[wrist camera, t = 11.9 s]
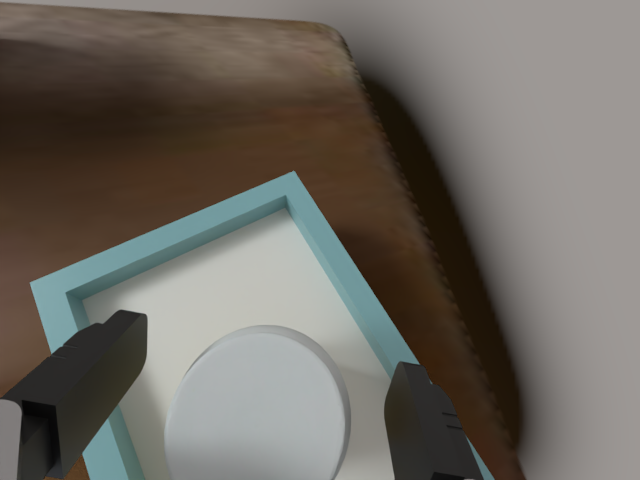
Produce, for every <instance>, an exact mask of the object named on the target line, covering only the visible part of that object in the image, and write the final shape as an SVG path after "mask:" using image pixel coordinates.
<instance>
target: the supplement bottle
mask: <svg viewBox="0 0 640 480" xmlns="http://www.w3.org/2000/svg"><path fill="white" fill-rule="evenodd" d="M350 433H351V408H350V401H349V395H348V391H347V388H346V385H345V382H344V379H343V377H342V375H341V373H340V371H339V369H338V367H337V365H336V364H335V362H334V361H333V359H332V358H331V357H330V355H329V354H328V353H327V352H326V351H325V350H324V349H323V348H322V347H321V346H320V345H319V344H318V343H317V342H315V341H314V340H313V339H311V338H310V337H308V336H307V335H305V334H303V333H301V332H298V331H296V330H294V329H291V328H287V327H283V326H277V325H257V326H250V327H246V328H242V329H239V330H236V331H234V332H232V333H229V334H227V335H225V336H224V337H222V338H220V339H219V340H217V341H216V342H214V343H213V344H212V345H210V346H209V347H208V348H207V349H206V350H205V351H204V352H202V353H201V354H200V355H199V357H198V358H197V359H196V360H195V361H194V362H193V364H192V365H191V366H190V368H189V369H188V371H187V372H186V373H185V375H184V377H183V379H182V381H181V383H180V384H179V386H178V388H177V390H176V392H175V394H174V396H173V399H172V401H171V404H170V407H169V410H168V413H167V419H166V425H165V431H164V453H165V460H166V466H167V470H168V473H169V477H170V480H335V478H336V476H337V474H338V473H339V471H340V468H341V466H342V464H343V461H344V459H345V455H346V452H347V449H348V444H349V438H350Z"/></svg>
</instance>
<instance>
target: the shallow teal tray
mask: <svg viewBox="0 0 640 480" xmlns="http://www.w3.org/2000/svg"><path fill="white" fill-rule="evenodd" d="M30 285H31V289H32V292H33V295H34V298H35V302H36V305H37V308H38V311H39V315H40V318H41V321H42V324H43V328H44V331H45V334H46V337H47V341H48V344H49V347H50V350H51V354H52V353H53V352H55V351H56V350H57V349H58V348H59V347H62V346H63V344H64V343H65V342H66V341H67V340H68V339H70V338H71V337H72V336H73V335H74V334H75V333H76V332H78V331H80V330H82V329H84V328H86V327H88V326H90V325H92V324H94V323H102V324H103V323H104V322H106V321H107V320H108V319H109V318H110V317H111V316H112V315H113V314H114V313H115V312H116V311H118V310H120V309H122V310H127V311H133V312H138V313H144V314H146V315H147V318H148V332H147V357H146V361H145V364H144V367H143V369H142V371H141V373H140V375H139V376H138V377H137V379H136V380H135V382H134V383H133V384H132V386H131V387H130V388H129V390H128V391H127V393H126V394H125V395H124V397H123V398H122V399H121V401H120V402H119V403H118V405H117V406H116V408H115V409H114V410H113V412H112V413H111V414H110V416H109V417H108V419H107V420H106V421H105V423H104V424H103V425H102V427H101V428H100V430H99V431H98V432H97V434H96V435H95V436H94V438H93V439H92V440H91V442H90V443H89V445H88V446H87V447H86V449H85V450H84V451H83V453H82V454H83V457H84V461H85V464H86V467H87V470H88V474H89V477H90V480H170V477H169V473H168V470H167V466H166V460H165V453H164V431H165V425H166V419H167V413H168V410H169V407H170V404H171V401H172V399H173V396H174V394H175V392H176V390H177V388H178V386H179V384H180V383H181V381H182V379H183V377H184V375H185V373H186V372H187V371H188V369H189V368H190V366H191V365H192V364H193V362H194V361H195V360H196V359H197V358H198V357H199V355H200V354H201V353H202V352H204V351H205V350H206V349H207V348H208V347H209V346H210V345H212V344H213V343H214V342H216V341H217V340H219V339H220V338H222V337H224V336H225V335H227V334H229V333H232V332H234V331H236V330H239V329H242V328H246V327H250V326H257V325H277V326H283V327H287V328H291V329H294V330H296V331H298V332H301V333H303V334H305V335H307V336H308V337H310V338H311V339H313V340H314V341H315V342H317V343H318V344H319V345H320V346H321V347H322V348H323V349H324V350H325V351H326V352H327V353H328V354H329V355H330V357H331V358H332V359H333V361H334V362H335V364H336V365H337V367H338V369H339V371H340V373H341V375H342V377H343V379H344V382H345V385H346V388H347V391H348V395H349V401H350V408H351V433H350V438H349V444H348V449H347V452H346V455H345V459H344V461H343V464H342V466H341V468H340V471H339V473H338V474H337V476H336V478H335V480H395V478H394V472H393V466H392V460H391V455H390V449H389V443H388V437H387V431H386V426H385V420H384V404H385V398H386V395H387V392H388V389H389V386H390V383H391V380H392V378H393V375H394V372H395V369H396V366H397V364H398V362H400V361H402V362H408V363H413V364H419V362H418V361H417V359H416V358H415V356H414V355H413V353H412V352H411V350H410V348H409V347H408V345H407V344H406V342H405V341H404V339H403V338H402V336H401V335H400V333H399V332H398V330H397V328H396V327H395V325H394V324H393V322H392V321H391V319H390V318H389V316H388V315H387V313H386V312H385V310H384V308H383V307H382V305H381V304H380V302H379V301H378V299H377V298H376V296H375V295H374V293H373V291H372V290H371V288H370V287H369V285H368V284H367V282H366V281H365V279H364V278H363V276H362V275H361V273H360V271H359V270H358V268H357V267H356V265H355V264H354V262H353V261H352V259H351V258H350V256H349V255H348V253H347V251H346V250H345V248H344V247H343V245H342V244H341V242H340V241H339V239H338V238H337V236H336V235H335V233H334V231H333V230H332V228H331V227H330V225H329V224H328V222H327V221H326V219H325V218H324V216H323V214H322V213H321V211H320V210H319V208H318V207H317V205H316V204H315V202H314V201H313V199H312V198H311V196H310V194H309V193H308V191H307V190H306V188H305V187H304V185H303V184H302V182H301V181H300V179H299V178H298V176H297V174H296V173H295V171H293V172H290V173H288V174H286V175H283V176H281V177H279V178H276V179H274V180H272V181H269V182H267V183H264V184H262V185H260V186H257V187H255V188H253V189H250V190H248V191H245V192H243V193H241V194H238V195H236V196H234V197H231V198H229V199H227V200H224V201H222V202H219V203H217V204H215V205H212V206H210V207H208V208H205V209H203V210H200V211H198V212H196V213H193V214H191V215H189V216H186V217H184V218H182V219H179V220H177V221H174V222H172V223H170V224H167V225H165V226H163V227H160V228H158V229H155V230H153V231H151V232H148V233H146V234H144V235H141V236H139V237H137V238H134V239H132V240H129V241H127V242H125V243H122V244H120V245H118V246H115V247H113V248H111V249H108V250H106V251H103V252H101V253H99V254H96V255H94V256H92V257H89V258H87V259H84V260H82V261H80V262H77V263H75V264H73V265H70V266H68V267H66V268H63V269H61V270H58V271H56V272H54V273H51V274H49V275H47V276H44V277H42V278H39V279H37V280H35V281H32V282H30ZM419 365H420V364H419ZM430 382H431V381H430ZM431 384H432V382H431ZM466 437H467V436H466ZM467 440H468V442H469V445H470V447H471V449H472V452H473V454H474V457H475V459H476V461H477V464H478V466H479V469H480V471H481V473H482V476H483V478H484V480H495V479H494V478H493V476H492V475H491V473H490V472H489V470H488V469H487V467H486V466H485V464H484V462H483V461H482V459H481V458H480V456H479V455H478V453H477V452H476V450H475V449H474V447H473V446H472V444H471V442H470V441H469V439H468V438H467Z"/></svg>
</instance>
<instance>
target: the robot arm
mask: <svg viewBox="0 0 640 480" xmlns="http://www.w3.org/2000/svg"><path fill="white" fill-rule="evenodd" d="M147 332H148V318H147V315H146V314H144V313H138V312H133V311H127V310H122V309H120V310H118V311H116V312H115V313H114V314H113V315H112V316H111V317H110V318H109V319H108V320H107V321H106V322H104V323H103V324H102V323H94V324H92V325H90V326H88V327H86V328H84V329H82V330H80V331H78V332H76V333H75V334H74V335H73V336H72V337H71V338H70V339H68V340H67V341H66V342H65V343H64V344H63V346H62V347H59V348H58V349H57V350H56V351H55V352H53V353H52V354H51V357H48V358H46V359H45V360H44V361H43V362H42V363H41V364H40V365H38V366H37V367H36V368H35V369H34V370H33V371H31V372H30V373H29V374H28V375H27V376H26V377H24V378H23V379H22V380H21V381H20V382H19V383H18V384H16V385H15V386H14V387H13V388H12V389H11V390H9V391H8V392H7V393H6V394H5V395H4V396H3V397H1V398H0V480H43V478H44V477H45V476H47V477H53V478H59V479H64V477H65V476H66V475H67V473H68V472H69V471H70V469H71V468H72V466H73V465H74V464H75V462H76V461H77V460H78V458H79V457H80V456H81V454H82V453H83V451H84V450H85V449H86V447H87V446H88V445H89V443H90V442H91V440H92V439H93V438H94V436H95V435H96V434H97V432H98V431H99V430H100V428H101V427H102V425H103V424H104V423H105V421H106V420H107V419H108V417H109V416H110V414H111V413H112V412H113V410H114V409H115V408H116V406H117V405H118V403H119V402H120V401H121V399H122V398H123V397H124V395H125V394H126V393H127V391H128V390H129V388H130V387H131V386H132V384H133V383H134V382H135V380H136V379H137V377H138V376H139V375H140V373H141V371H142V369H143V367H144V364H145V361H146V357H147ZM384 420H385V426H386V431H387V437H388V443H389V449H390V455H391V460H392V466H393V472H394V478H395V480H484V478H483V476H482V473H481V471H480V469H479V466H478V464H477V461H476V459H475V457H474V454H473V452H472V449H471V447H470V445H469V442H468V440H467V437H466V435H465V432H464V431H463V430H462V425H461V423H460V420H459V418H457V413H456V411H455V408H454V406H453V404H452V401H451V399H450V398H449V397H448V396H447V394H446V393H445V392H444V391H443V390H442V388H441V387H440V386H439V385H435V384H431V382H430V379H429V377H428V374H427V371H426V369H425V367H424V366H423V365H419V364H413V363H408V362H402V361H400V362H398V364H397V366H396V369H395V372H394V375H393V378H392V380H391V383H390V386H389V389H388V392H387V395H386V398H385V404H384Z"/></svg>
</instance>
